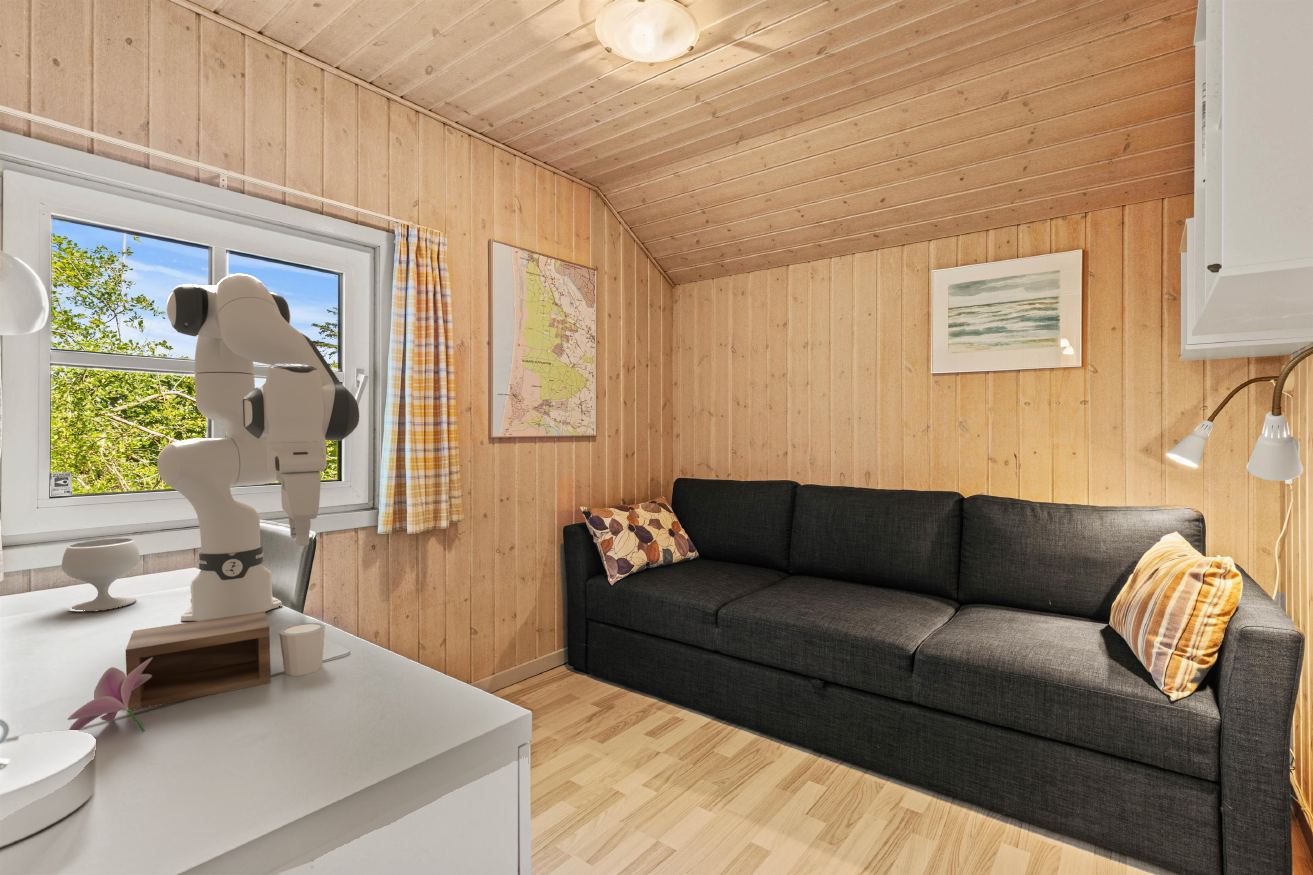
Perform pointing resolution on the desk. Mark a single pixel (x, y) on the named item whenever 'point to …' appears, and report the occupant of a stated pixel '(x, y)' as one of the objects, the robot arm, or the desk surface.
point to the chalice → (101, 568)
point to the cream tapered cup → (302, 648)
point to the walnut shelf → (199, 658)
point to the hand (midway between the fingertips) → (299, 541)
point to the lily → (111, 696)
